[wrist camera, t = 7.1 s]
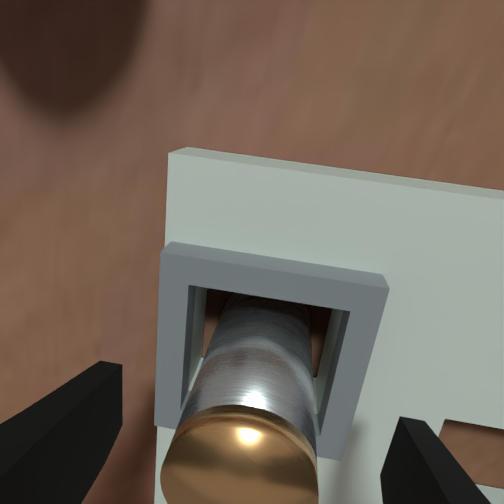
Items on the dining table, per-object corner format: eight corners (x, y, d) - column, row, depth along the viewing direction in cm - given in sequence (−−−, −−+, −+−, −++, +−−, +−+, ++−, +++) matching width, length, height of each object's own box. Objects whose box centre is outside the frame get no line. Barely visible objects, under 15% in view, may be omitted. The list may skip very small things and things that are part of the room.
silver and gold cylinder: (319, 292, 14) (336, 451, 8) (300, 368, 15) (300, 560, 9) (227, 274, 14) (166, 412, 8) (216, 350, 16) (154, 526, 9)
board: (759, 225, 12) (903, 262, 9) (550, 558, 17) (598, 644, 15) (187, 146, 13) (156, 156, 10) (168, 482, 19) (144, 547, 16)
